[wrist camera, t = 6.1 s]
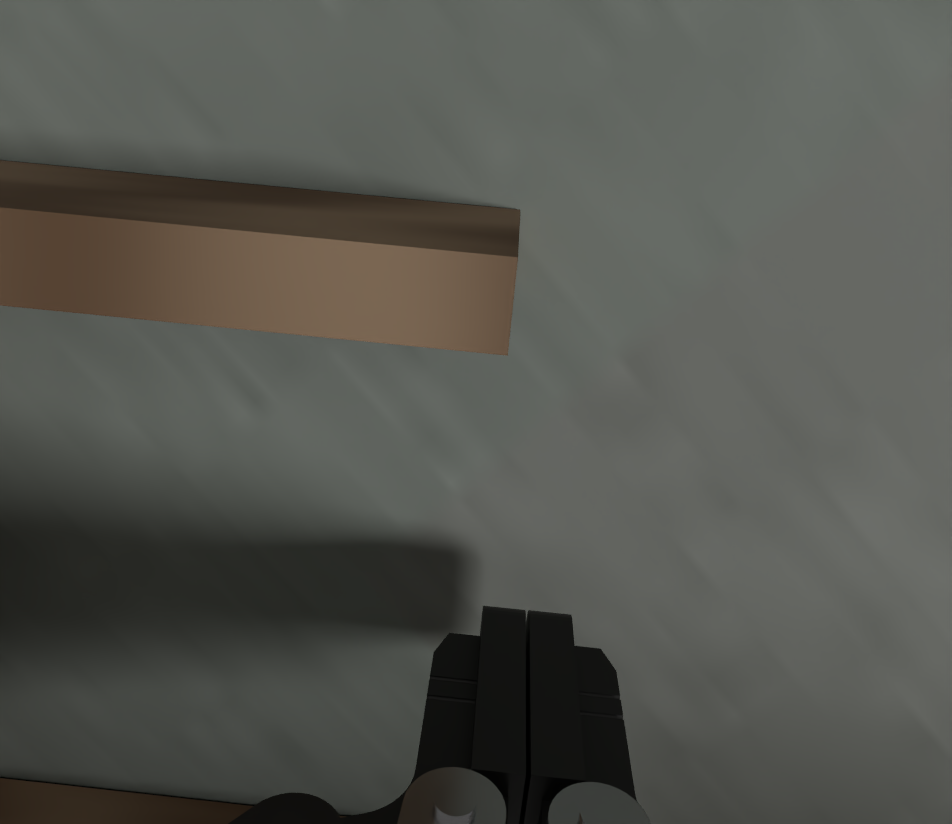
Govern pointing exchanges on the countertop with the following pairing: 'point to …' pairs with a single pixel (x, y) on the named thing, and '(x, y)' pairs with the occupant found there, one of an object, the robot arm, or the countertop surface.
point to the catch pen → (243, 309)
